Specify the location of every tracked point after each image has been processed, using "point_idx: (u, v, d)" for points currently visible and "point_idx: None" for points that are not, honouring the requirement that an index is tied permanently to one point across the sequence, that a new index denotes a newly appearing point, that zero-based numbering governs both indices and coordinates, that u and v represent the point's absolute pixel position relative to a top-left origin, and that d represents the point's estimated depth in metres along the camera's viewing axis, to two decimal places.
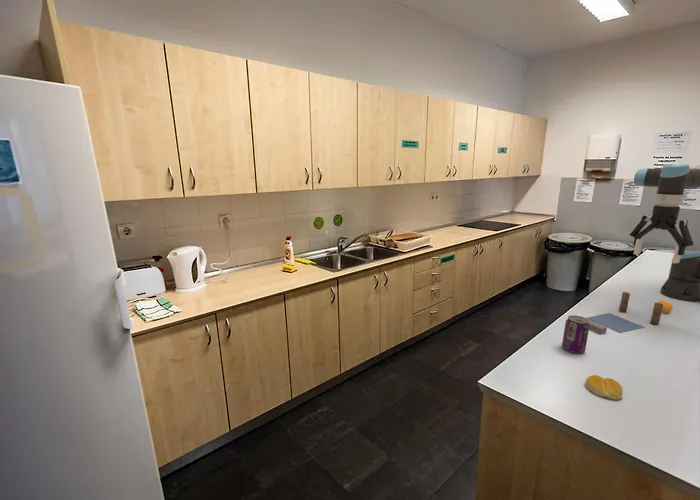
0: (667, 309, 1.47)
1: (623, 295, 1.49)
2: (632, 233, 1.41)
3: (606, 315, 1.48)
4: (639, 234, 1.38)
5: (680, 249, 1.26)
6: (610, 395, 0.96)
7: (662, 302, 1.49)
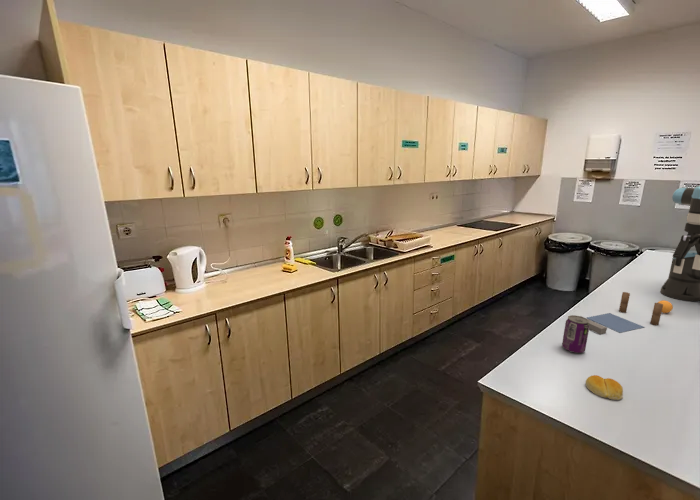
0: (667, 309, 1.47)
1: (623, 295, 1.49)
2: None
3: (606, 315, 1.48)
4: None
5: None
6: (610, 395, 0.96)
7: (662, 302, 1.49)
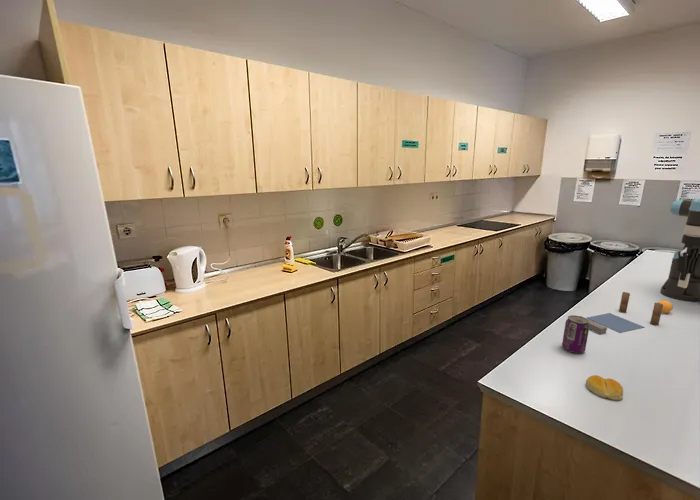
0: (667, 309, 1.47)
1: (623, 295, 1.49)
2: None
3: (606, 315, 1.48)
4: None
5: None
6: (610, 395, 0.96)
7: (662, 302, 1.49)
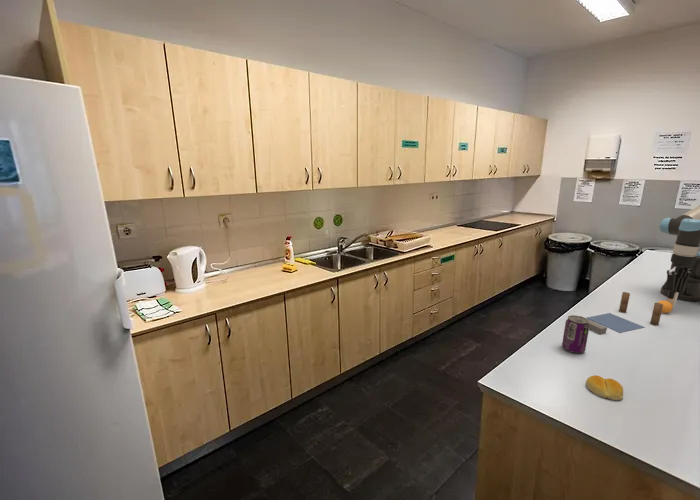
0: (667, 309, 1.47)
1: (623, 295, 1.49)
2: None
3: (606, 315, 1.48)
4: None
5: None
6: (611, 395, 0.96)
7: (662, 302, 1.49)
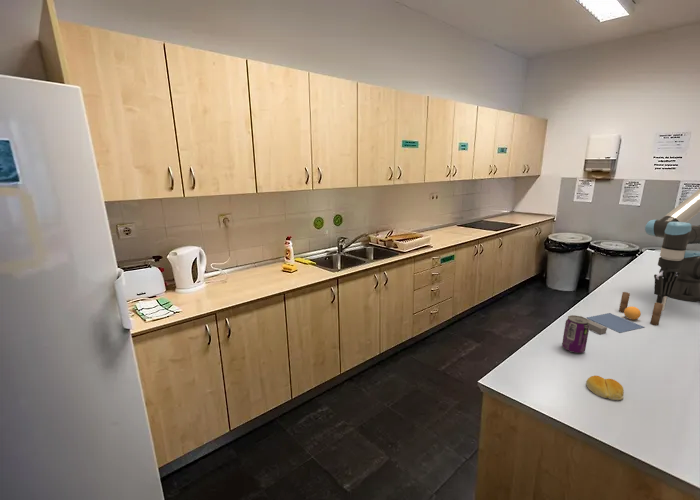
0: (635, 318, 1.42)
1: (623, 295, 1.49)
2: None
3: (606, 315, 1.48)
4: None
5: None
6: (611, 395, 0.96)
7: (627, 312, 1.43)
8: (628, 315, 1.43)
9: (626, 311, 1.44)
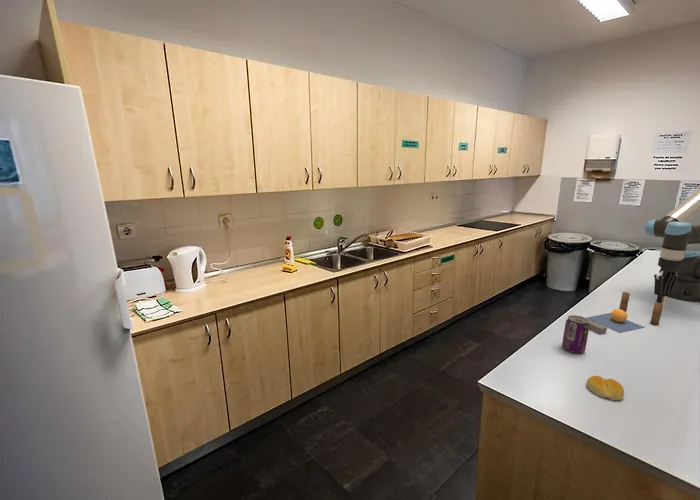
0: None
1: (623, 295, 1.49)
2: None
3: (606, 315, 1.48)
4: None
5: None
6: (611, 395, 0.96)
7: None
8: None
9: None
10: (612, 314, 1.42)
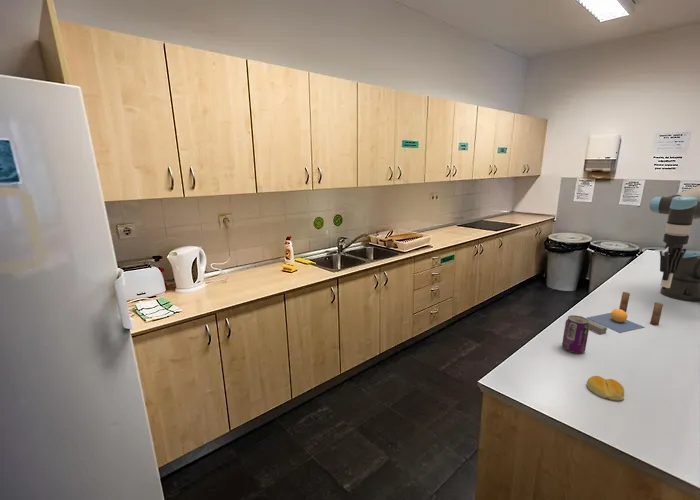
0: None
1: (623, 295, 1.49)
2: None
3: (606, 315, 1.48)
4: None
5: None
6: (612, 396, 0.96)
7: None
8: None
9: None
10: (612, 314, 1.42)
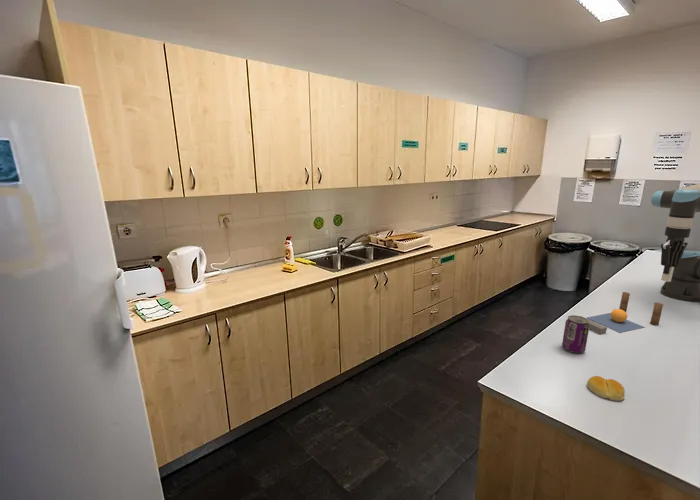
0: None
1: (623, 295, 1.49)
2: None
3: (606, 315, 1.48)
4: None
5: None
6: (612, 396, 0.96)
7: None
8: None
9: None
10: (612, 314, 1.42)
